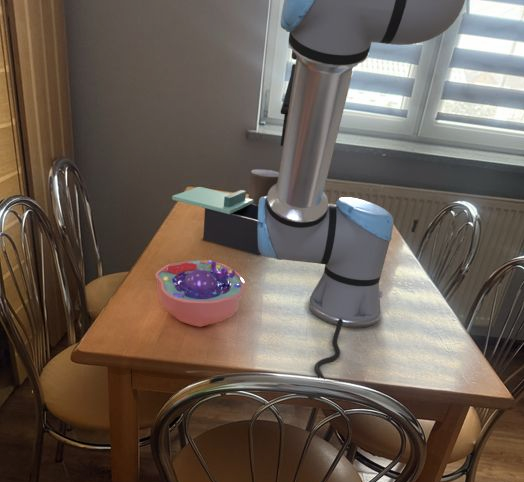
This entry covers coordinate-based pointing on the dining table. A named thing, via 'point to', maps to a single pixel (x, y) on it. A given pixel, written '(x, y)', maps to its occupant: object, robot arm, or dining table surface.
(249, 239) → the bin
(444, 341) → the dining table surface
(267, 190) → the pillar candle
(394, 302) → the dining table surface
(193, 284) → the cell model
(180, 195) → the lid
